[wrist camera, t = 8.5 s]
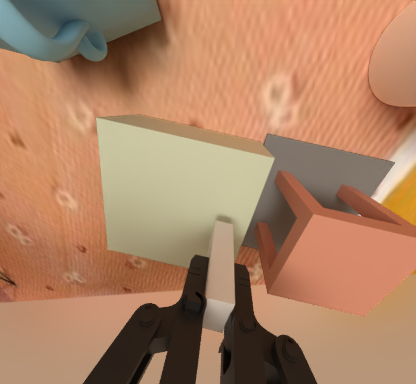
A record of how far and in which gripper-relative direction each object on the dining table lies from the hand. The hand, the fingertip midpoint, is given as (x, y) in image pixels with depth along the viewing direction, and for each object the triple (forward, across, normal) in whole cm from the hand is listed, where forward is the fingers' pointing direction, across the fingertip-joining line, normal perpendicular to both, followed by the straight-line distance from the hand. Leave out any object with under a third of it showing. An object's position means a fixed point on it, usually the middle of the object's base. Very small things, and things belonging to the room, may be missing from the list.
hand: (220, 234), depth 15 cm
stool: (+4, +6, 0) cm, 7 cm away
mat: (+9, +10, 0) cm, 13 cm away
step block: (+9, -4, 0) cm, 10 cm away
